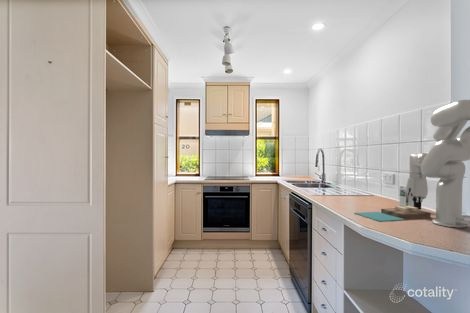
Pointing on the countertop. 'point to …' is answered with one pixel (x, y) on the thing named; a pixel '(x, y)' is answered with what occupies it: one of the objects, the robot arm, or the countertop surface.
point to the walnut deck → (406, 214)
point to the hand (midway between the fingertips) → (417, 209)
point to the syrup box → (404, 197)
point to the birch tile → (406, 208)
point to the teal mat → (379, 216)
